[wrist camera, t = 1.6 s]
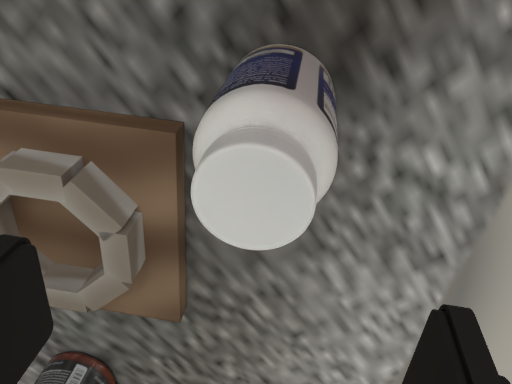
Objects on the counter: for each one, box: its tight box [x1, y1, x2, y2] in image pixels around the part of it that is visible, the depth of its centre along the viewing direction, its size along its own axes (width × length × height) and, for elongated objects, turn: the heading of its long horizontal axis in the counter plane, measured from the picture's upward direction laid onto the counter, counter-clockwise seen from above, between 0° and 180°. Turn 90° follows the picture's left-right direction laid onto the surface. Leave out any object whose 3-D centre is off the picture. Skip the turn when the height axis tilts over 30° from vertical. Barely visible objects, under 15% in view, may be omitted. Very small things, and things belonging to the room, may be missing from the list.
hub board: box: [0, 98, 186, 322], centre depth 26 cm, size 14×14×4 cm
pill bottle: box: [191, 44, 338, 250], centre depth 17 cm, size 5×5×10 cm
